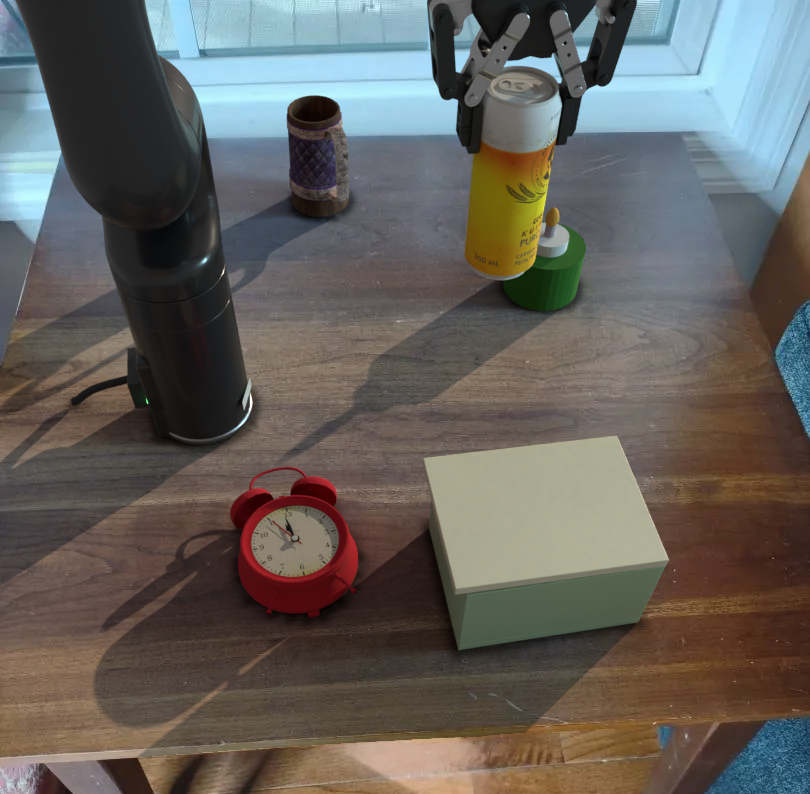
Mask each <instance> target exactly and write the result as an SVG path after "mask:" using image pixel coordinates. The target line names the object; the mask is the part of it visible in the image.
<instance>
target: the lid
mask: <svg viewBox="0 0 810 794" xmlns="http://www.w3.org/2000/svg"><path fill="white" fill-rule="evenodd" d="M422 467H423V471H424V475H425V479H426V480H425V481H426V484H427V487H428V491H429V496H430V501H431V500H432V504H433V508H434V512H435V517H436V521H437V525H438V529H439V533H440V537H441V541H442V545H443V549H444V553H445V557H446V561H447V565H448V569H449V573H450V577H451V582H452V586H453V590H454V594H455V595H457V594H465V593H472V592H479V591H486V590H494V589H501V588H508V587H516V586H523V585H530V584H537V583H545V582H552V581H559V580H567V579H574V578H581V577H588V576H596V575H603V574H610V573H617V572H625V571H632V570H639V569H647V568H654V567H661V566H665V567H667V564H668V563H669V561H670V559H669V557H668V554H667V551H666V550H665V547H664V545H663V542H662V540H661V537H660V535H659V533H658V530H657V527H656V526H655V523H654V521H653V519H652V516H651V514H650V511H649V509H648V506H647V504H646V502H645V499H644V496H643V494H642V492H641V490H640V487H639V484H638V482H637V480H636V477H635V475H634V473H633V470H632V468H631V466H630V464H629V461H628V459H627V456H626V454H625V452H624V449H623V447H622V445H621V442H620V440H619V437H618V435H609V436H602V437H592V438H584V439H576V440H568V441H557V442H550V443H541V444H532V445H531V444H530V445H524V446H523V445H522V446H516V447H508V448H507V447H506V448H505V447H504V448H498V449H490V450H481V451H472V452H471V451H470V452H464V453H454V454H447V455H445V454H444V455H438V456H437V455H436V456H429V457H423V458H422Z"/></svg>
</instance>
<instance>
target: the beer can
mask: <svg viewBox="0 0 810 794" xmlns="http://www.w3.org/2000/svg"><path fill="white" fill-rule="evenodd" d="M558 83H559V82H558V80H557V79H556V78H555V76H553V75H552V74H551V73H549V72H548V71H545V70H542V69H539V68H537V67H532V66H526V65H509V66H504V67H503V69H502V71H501V72H500V74H499V76H498V77H497V78H496V79H493V80H492V81H491V83H490V85H489V87H488V88H487V90H486V92H485V94H484V95H483V97H482V99H481V103H482V105H483V114H482V125H481V135H480V145H479V152H478V153H475V154H471V165H470V175H469V186H468V195H467V196H468V198H467V209H466V220H465V230H464V231H465V232H464V241H463V257H464V259H465V261H466V262H467V264H468V265H469V266H470V267H471V269H472V270H473V271H474V272H475V273H476V274H477V275H480V276H481V277H483V278H485V279H488V280H492V281H504V280H510V279H513V278H516V277H518V276H520V275H522V274H523V273H524V272H525V271H526V270H528V269H529V268H530V267H531V266H532V265H533V263H534V261H535V258H536V252H537V247H538V241H539V235H540V229H541V224H542V221H543V219H544V212H545V205H546V200H547V194H548V188H549V183H550V176H551V170H552V165H553V159H554V153H555V148H556V145H555V143H556V137H557V131H558V126H559V120H560V114H561V108H562V100H561V96H560V93H559V84H558Z"/></svg>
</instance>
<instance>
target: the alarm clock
mask: <svg viewBox="0 0 810 794" xmlns="http://www.w3.org/2000/svg"><path fill="white" fill-rule="evenodd" d="M286 470H287V471H293V472H294V471H295V472H297V473H299V474H300V475H301V476H302V477H301V478H298V479H296V480H295V481H294V482H293V484H292V485H291V488H290V493H289V494H290V495H284V494H283V495H278V497H277V498H274V497H273V495H272V494H271V493H270V492H269V491H268V490H266V489H265V488H260V487H256V488H253V485H254V482H255V481H256V480H258V479H259V478H260V477H262V476H264V475H266V474H270V473H274V472H278V471H286ZM337 493H338V492H337V489H336V486H334V484H333V483H332V482H331V481H330V480H328V479H326V478H324V477H320V476H315V475H314V476H313V475H312V476H311V475H309V476H307V474H305V472H304V471H303V470H301V469H299V468H297V467H294V466H280V467H275V468H271V469H267V470H264V471H262V472H259V473H258V474H256V475H255V476H254V477H253V478H252V479H251V481H250V483H249V489H248V490H247V491H244V492H243V493H241V494H240V495H239V496H237V498H236V499H234V500H233V503H232V504H231V506H230V509H229V511H230V512H229V515H230V516H229V517H230V520H231V522H232V524H233V525H234V526H235V527H236V529H237V530H242V531H241V535H240V539H239V554H238V558H237V570H238V575H239V579H240V582H241V584H242V586H243V588H244V590H245V591H246V593H247V594H248V595H249V596H250V597H251V598H252V599H253V600H254V601H255V602H257V603H258V604H260V605H261V606H263V607H264V608H267V609H266V611H265V614H266V615H271V614H272V613H273V611H275V612H278V613H282V614H283V613H284V614H307V615H308V616H307V617H308V619H310V618H315V617H319V616H321V613H320V610H321V609H323V608H326V607H328V606H331V604H333V603H335V602H337V600H339V599H340V598H341V597H342V596H343V595H344V594H345V593H346V592H347V591H348V590H350V593H351V594H353V595H354V594H355V593H357V588H355V587H352V584H353V582H354V580H355V578H356V575H357V573H358V568H359V552H358V551H359V550H358V548H357V545H356V541H355V540H354V538H353V536H352V535H351V532H350V529H349V526H348V523H347V521H346V520H345V518H344V517H343V515H342V514H341V513H340V511H339V510H338V509H337V508H336V507H335V505H336V504H337V501H338V500H337V499H338V494H337Z"/></svg>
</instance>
